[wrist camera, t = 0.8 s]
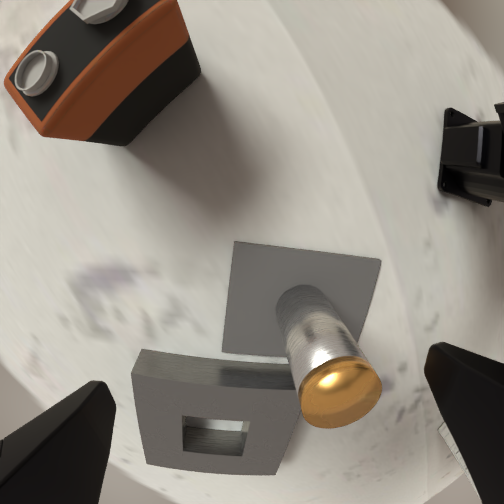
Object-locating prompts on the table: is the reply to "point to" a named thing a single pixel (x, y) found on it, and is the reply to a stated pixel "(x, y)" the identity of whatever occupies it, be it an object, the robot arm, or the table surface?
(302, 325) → the silver copper cylinder
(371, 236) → the table surface
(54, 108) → the battery
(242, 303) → the mat
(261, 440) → the block
